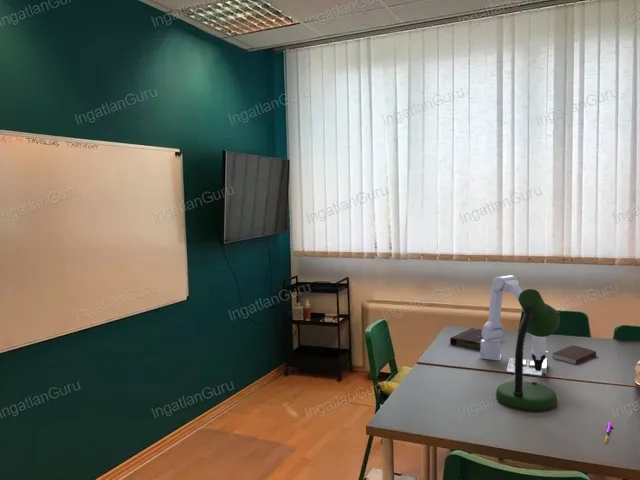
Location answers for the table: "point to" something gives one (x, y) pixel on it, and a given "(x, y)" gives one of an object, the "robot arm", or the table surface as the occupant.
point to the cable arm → (544, 365)
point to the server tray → (525, 368)
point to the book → (574, 354)
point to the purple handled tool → (608, 430)
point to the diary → (468, 339)
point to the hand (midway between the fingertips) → (538, 370)
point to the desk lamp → (519, 392)
